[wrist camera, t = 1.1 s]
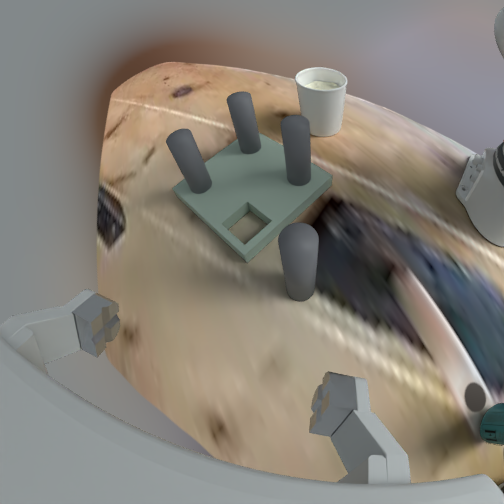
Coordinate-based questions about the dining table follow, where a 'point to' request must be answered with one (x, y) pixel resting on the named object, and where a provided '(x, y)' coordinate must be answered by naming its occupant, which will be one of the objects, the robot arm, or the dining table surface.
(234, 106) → the stool seat
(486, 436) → the beverage bottle
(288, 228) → the stool leg
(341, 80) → the candle holder
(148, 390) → the dining table surface
